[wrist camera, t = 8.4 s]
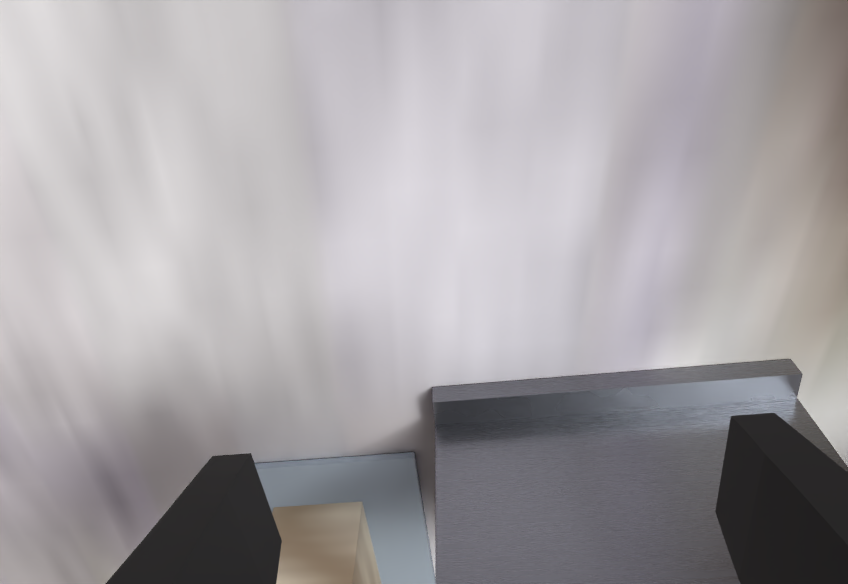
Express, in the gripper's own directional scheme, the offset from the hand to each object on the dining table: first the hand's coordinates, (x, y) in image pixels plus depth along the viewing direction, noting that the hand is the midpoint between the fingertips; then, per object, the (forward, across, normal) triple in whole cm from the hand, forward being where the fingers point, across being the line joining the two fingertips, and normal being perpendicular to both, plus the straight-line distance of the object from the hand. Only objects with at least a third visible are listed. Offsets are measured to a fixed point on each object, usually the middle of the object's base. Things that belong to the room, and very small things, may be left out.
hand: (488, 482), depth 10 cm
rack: (+10, -4, +19) cm, 22 cm away
